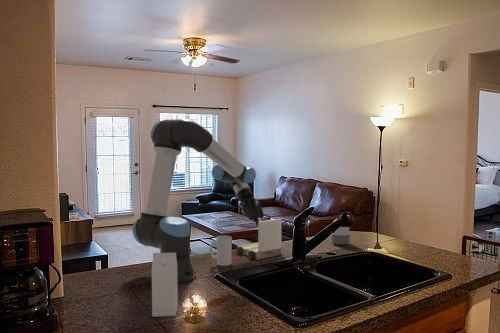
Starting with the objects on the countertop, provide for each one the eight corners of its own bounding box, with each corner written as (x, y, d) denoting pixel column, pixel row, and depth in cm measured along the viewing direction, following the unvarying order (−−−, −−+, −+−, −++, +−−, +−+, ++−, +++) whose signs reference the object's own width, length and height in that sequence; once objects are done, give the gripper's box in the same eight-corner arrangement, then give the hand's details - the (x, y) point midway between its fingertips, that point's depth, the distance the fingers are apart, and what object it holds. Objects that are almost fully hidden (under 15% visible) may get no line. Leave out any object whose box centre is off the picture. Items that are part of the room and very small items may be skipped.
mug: (229, 261, 185) (228, 234, 184) (234, 265, 179) (233, 238, 178) (207, 263, 181) (207, 236, 181) (211, 267, 175) (211, 240, 174)
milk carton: (155, 307, 132) (154, 250, 131) (177, 307, 133) (177, 249, 132) (152, 317, 125) (151, 256, 124) (175, 316, 126) (174, 255, 125)
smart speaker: (328, 242, 220) (328, 216, 219) (344, 241, 222) (344, 216, 221) (336, 246, 211) (336, 220, 210) (352, 245, 213) (353, 219, 212)
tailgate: (257, 253, 187) (257, 221, 186) (280, 248, 195) (280, 218, 194) (259, 253, 186) (259, 222, 185) (281, 249, 194) (281, 218, 193)
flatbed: (234, 252, 199) (234, 245, 199) (262, 247, 209) (262, 240, 209) (254, 260, 186) (254, 252, 186) (282, 254, 197) (282, 246, 196)
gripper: (250, 195, 212) (270, 233, 200) (229, 197, 205) (249, 236, 192) (256, 186, 208) (278, 224, 196) (235, 188, 200) (256, 227, 188)
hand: (263, 230), depth 194 cm, fingers closed
